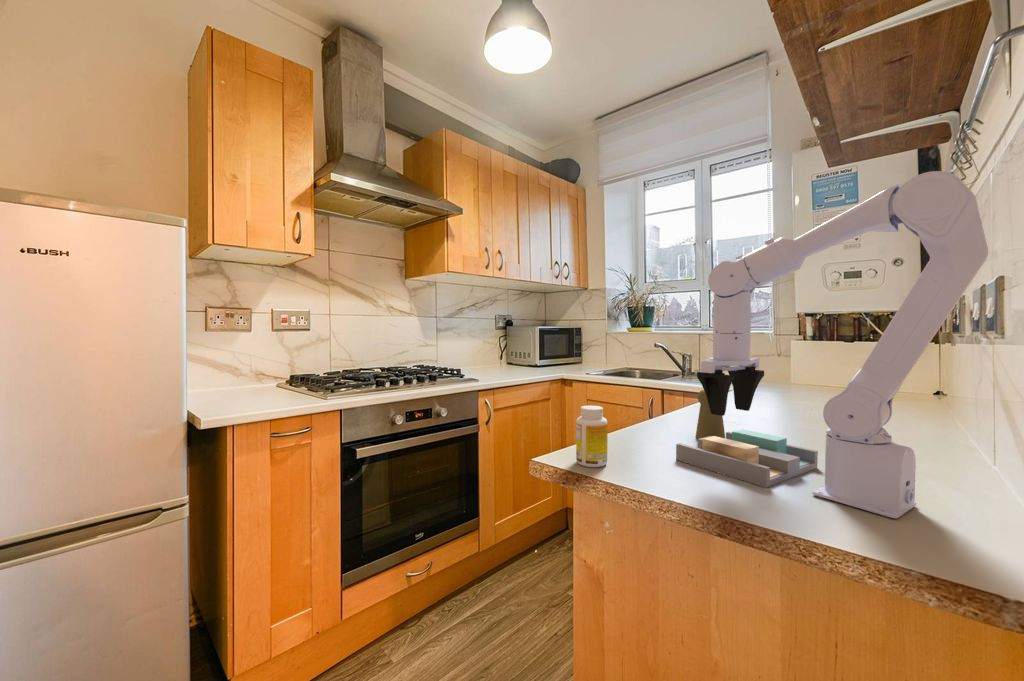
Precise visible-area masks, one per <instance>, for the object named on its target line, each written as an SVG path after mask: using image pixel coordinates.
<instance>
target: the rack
mask: <svg viewBox="0 0 1024 681" xmlns="http://www.w3.org/2000/svg"><path fill="white" fill-rule="evenodd" d="M708 437H712V436H708ZM704 438H707V437H704ZM702 439H703V438H700V439H698V440H697V446H696V447H695V446H691V445H687V444H684V443H680V442H678V443H676V445H675V446H676V447H675V451H676V452H675V454H676V455H675V461H678V460H679V461H678V462H681V461H682V462H681V463H684V462H686V463H685V464H687V463H689V464H688V465H691V464H692V465H691V466H694V465H695V467H697V466H699V467H698V468H700V467H702V468H701V469H704V468H706V469H705V470H707V469H709V470H708V471H710V470H712V471H711V472H713V471H715V472H714V473H716V472H719V473H718V474H720V473H721V475H723V474H725V475H724V476H726V475H728V476H727V477H729V476H731V477H730V478H733V477H734V479H736V478H737V480H739V479H740V481H742V480H744V481H743V482H746V481H747V482H746V483H749V482H751V483H750V484H752V483H753V485H755V484H756V486H758V485H759V486H758V487H762V488H765V487H766V488H765V489H767V488H770V487H773V486H775V485H777V484H780V483H782V482H785V481H788V480H790V479H792V478H795V477H798V476H800V475H803V474H806V473H808V472H811V471H813V470H816V469H817V468H818V459H819V458H818V456H819V455H818V450H816V449H815V450H814V449H810V448H806V447H802V446H796V445H793V444H789V443H787V446H786V454H784V453H780V452H776V451H771V450H767V449H763V448H759V463H758V464H756V463H752V462H748V461H744V460H741V459H737V458H733V457H729V456H726V455H722V454H718V453H715V452H711V451H707V450H703V449H702ZM725 439H729V440H732V431H725ZM772 485H773V486H772Z"/></svg>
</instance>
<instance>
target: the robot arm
mask: <svg viewBox="0 0 1024 681" xmlns="http://www.w3.org/2000/svg"><path fill="white" fill-rule="evenodd" d="M900 224H903V226H904V227H905V228H907V230H909V232H911V233H912V234H913V235H915V236H916V237H918V238H919V240H920V242H921V244H922V245H923V247H924V249H925V250H926V253H927V254H928V257H929V261H927V263H926V265H925V267H924V268H923V269H922V271H921V273H920V274H919V276H918V278H917V279H916V281H915V282H914V284H913V286H912V287H911V289H910V290H909V291H908V293H907V295H906V296H905V298H904V300H903V301H902V303H901V304H900V306H899V308H898V310H897V311H896V312H895V314H894V316H893V317H892V319H891V320H890V322H889V323H888V325H887V327H886V328H885V330H884V331H883V333H882V335H881V336H880V338H879V339H878V341H877V342H876V344H875V346H874V347H873V349H872V350H871V352H870V354H869V356H868V357H867V358H866V360H865V362H864V363H863V365H862V366H861V368H860V369H859V370H858V371H857V372H856V374H855V375H854V376H853V377H852V378H851V379H850V381H849V382H848V384H847V386H846V387H845V388H844V390H842V391H841V392H839V393H838V394H836V395H834V396H832V397H830V399H828V401H826V403H825V404H824V407H823V411H822V412H823V413H822V416H823V417H822V418H823V420H824V423H825V424H826V426H827V428H826V429H825V452H824V453H825V454H824V455H825V459H824V460H825V461H824V462H825V463H824V464H825V465H824V485H823V486H820V487H819V488H816V489H815V490H812V492H811V493H812V495H813V496H817V497H819V498H823V499H827V500H830V501H834V502H836V503H840V504H843V505H848V506H850V507H854V508H858V509H861V510H864V511H867V512H870V513H874V514H877V515H881V516H884V517H887V518H890V519H891V518H892V519H898V518H900V517H902V516H903V515H905V514H906V513H907V512H908V511H910V510H912V509H913V508H914V507H916V506H917V502H916V499H915V496H916V494H915V493H916V454H915V451H914V449H913V448H912V447H910V446H907V445H902V444H898V443H895V442H893V441H892V435H890V434H889V432H887V431H888V430H886V429H885V427H883V426H885V425H887V423H889V422H890V419H891V418H892V414H893V401H894V399H895V397H896V395H897V394H898V393H899V391H900V389H901V388H902V385H903V384H904V382H905V380H906V378H907V377H908V376H909V375H910V372H912V370H913V368H914V367H915V365H916V364H917V362H918V361H919V359H920V358H921V357H922V355H923V354H924V353H925V351H926V349H927V348H928V346H929V345H930V343H931V342H932V340H933V338H934V337H935V336H936V334H937V332H939V330H940V328H941V327H942V326H943V324H944V322H945V321H946V319H947V318H948V316H949V315H950V314H951V313H952V311H953V309H954V308H955V306H956V305H957V303H958V302H959V301H960V299H961V298H962V296H963V294H964V293H965V292H966V291H967V289H968V287H969V285H970V284H971V283H972V281H973V279H975V277H976V275H978V273H979V272H980V270H981V268H982V267H983V265H984V264H985V262H986V261H987V258H988V255H989V246H988V243H987V239H986V235H985V231H984V227H983V226H984V225H983V223H982V220H981V214H980V210H979V207H978V202H977V197H976V195H975V194H974V192H973V191H972V190H971V189H970V188H969V187H968V186H967V185H966V183H965V182H964V181H963V180H962V179H961V178H960V177H959V176H957V175H956V174H953V173H952V172H947V171H942V170H932V171H928V172H927V171H926V172H922V173H920V174H917V175H915V176H913V177H911V178H910V179H908V180H907V181H905V182H904V183H903V184H901V185H900V184H896V185H893V186H890V187H888V188H886V189H884V190H882V191H880V192H878V193H877V194H875V195H873V196H872V197H870V198H869V199H866V200H864V201H863V202H861V203H859V204H857V205H855V206H854V207H851V208H850V209H848V210H847V211H844V212H843V213H841V214H838V215H837V216H835V217H833V218H832V219H830V220H827V221H826V222H824V223H822V224H820V225H819V226H817V227H815V228H813V229H811V230H809V231H808V232H806V233H804V234H802V235H800V236H799V237H796V238H789V237H784V236H783V237H781V236H780V237H779V238H777V239H776V238H774V237H771V238H769V239H766V240H765V241H764V244H765V245H763V246H761V247H759V248H757V249H754V250H753V251H751V252H749V253H747V254H745V255H744V254H740V255H737V256H736V257H735V259H736V260H735V261H732V260H725V261H721V262H720V263H719V264H718V265H716V266H715V267H713V268H712V269H711V271H710V273H709V275H708V278H707V283H708V287H709V289H710V290H711V292H712V293H713V307H712V308H713V310H712V312H713V315H712V316H713V319H712V322H713V323H712V324H713V325H712V332H713V334H712V343H713V344H712V357H707V358H706V359H704V360H700V371H696V378H697V380H698V381H699V383H700V384H701V386H702V388H703V389H702V390H704V391H705V394H706V397H707V400H708V404H709V408H710V412H711V414H714V415H720V416H723V417H724V416H725V414H726V410H727V404H728V396H729V392H730V388H731V385H732V388H733V399H734V405H735V409H736V410H740V411H746V412H748V411H750V409H751V406H752V403H753V400H754V397H755V393H756V390H757V388H758V386H759V384H760V383H761V381H762V379H763V378H764V376H765V370H761V369H760V357H751V336H752V335H751V331H752V330H751V324H752V323H751V319H752V317H751V316H752V315H751V314H752V313H751V312H752V306H751V303H752V301H751V300H752V298H751V296H752V294H753V293H754V291H755V290H756V288H760V287H762V286H765V285H767V284H769V283H771V282H774V281H776V280H778V279H780V278H782V277H785V276H787V275H789V274H792V273H794V272H797V271H799V270H800V269H801V267H802V265H803V263H804V261H805V260H806V258H809V257H811V256H812V255H815V254H817V253H819V252H822V251H824V250H828V249H829V248H832V247H834V246H837V245H839V244H842V243H843V242H846V241H848V240H851V239H854V238H856V237H858V236H861V235H863V234H866V233H868V232H869V233H870V232H876V233H877V232H880V233H881V232H882V233H898V232H899V231H900V230H899V225H900ZM725 372H728V374H725Z"/></svg>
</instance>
